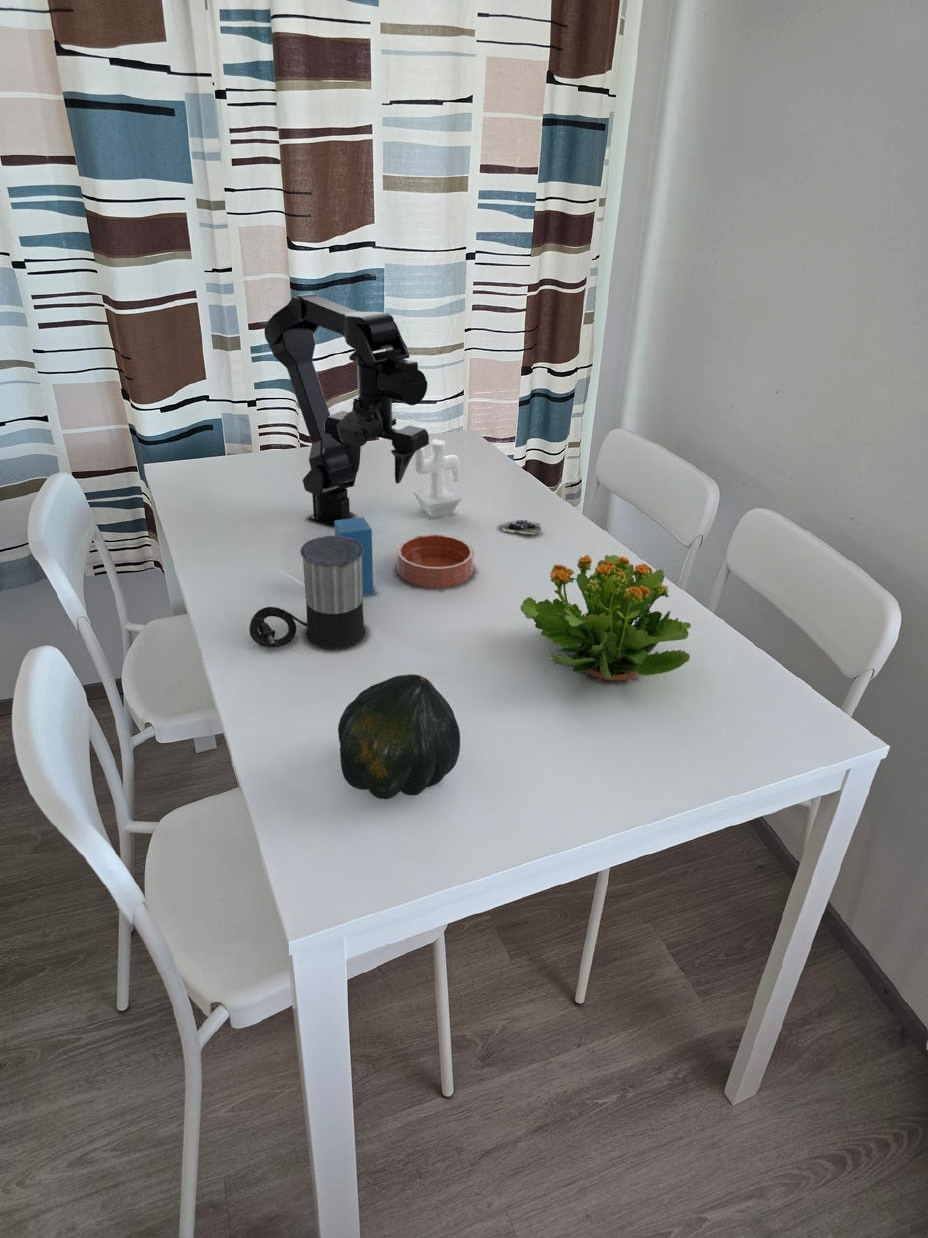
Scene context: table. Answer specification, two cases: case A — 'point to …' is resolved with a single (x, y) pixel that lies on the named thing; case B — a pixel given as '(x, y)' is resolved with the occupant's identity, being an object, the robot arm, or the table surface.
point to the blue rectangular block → (363, 535)
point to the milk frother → (323, 597)
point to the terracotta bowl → (435, 561)
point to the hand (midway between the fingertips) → (376, 477)
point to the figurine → (437, 479)
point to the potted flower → (610, 620)
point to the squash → (398, 737)
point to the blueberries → (522, 527)
